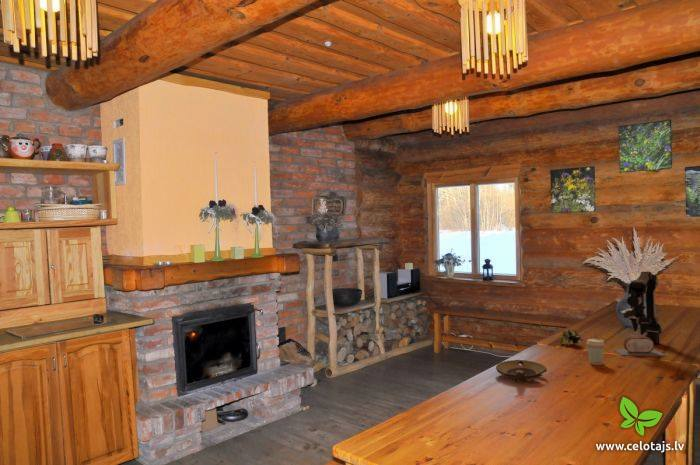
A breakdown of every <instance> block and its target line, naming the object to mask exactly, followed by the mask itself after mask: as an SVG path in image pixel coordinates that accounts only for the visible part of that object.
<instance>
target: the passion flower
mask: <svg viewBox="0 0 700 465" xmlns="http://www.w3.org/2000/svg"><path fill="white" fill-rule="evenodd" d="M566 341H567V346H569V345H570V343H572V344H573V345H579V341H581V342H583V341H584V339H582V338H581V335H580V334H579V333H578V331H577V329H576V330H575V329H570V328H568V329H567V330H562V335H561V336H558V338H557V342H558V343H561V344H562V343H564V344H566Z"/></svg>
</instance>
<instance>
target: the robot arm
mask: <svg viewBox="0 0 700 465" xmlns="http://www.w3.org/2000/svg"><path fill="white" fill-rule="evenodd" d="M658 285H659V278H658V276H657V275H655V274H653V272H652V271H641V272H640V275H639V276H638V277H637V279H633V280H631V281H630V282H629V286H628V289H627V290H628V291H627V294H628V295H630V296H628V297H627V299H626V303H627V304H628V306H629V308H626V309H624V310H621V311H620V315H621V318H624V319H628V320H629V321H630V323H631V326H632V330H633V331H634V332H637V331H638V327H639V333H640V336H641V335H642V336H643V335H644V337H648V338H650V339H651V340H652V341H653V342H654V345H661V344H662V343H661V342H660V335H662V334H663V329H662V326H661V323H660V320H659V318H658V317H657V315H656V300H655V299H656V297H655V296H656V294H655V293H656V292H655V291H656V290H657V288H658ZM645 309H646V312H645ZM645 313H646V314H645Z"/></svg>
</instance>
